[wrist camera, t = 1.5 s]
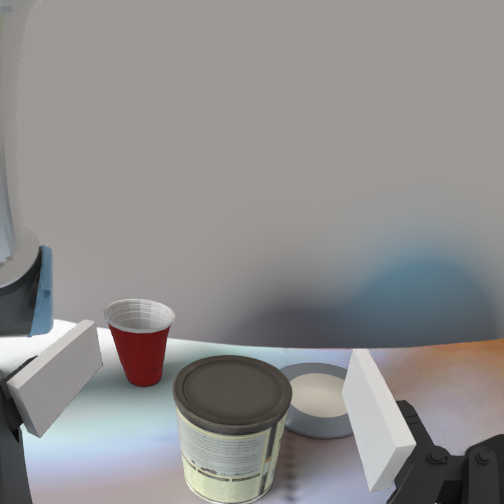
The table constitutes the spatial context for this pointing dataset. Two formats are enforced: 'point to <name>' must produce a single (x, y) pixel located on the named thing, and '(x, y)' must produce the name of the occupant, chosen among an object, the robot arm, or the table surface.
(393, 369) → the table surface
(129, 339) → the plastic cup
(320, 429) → the slate plate
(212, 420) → the coffee can
